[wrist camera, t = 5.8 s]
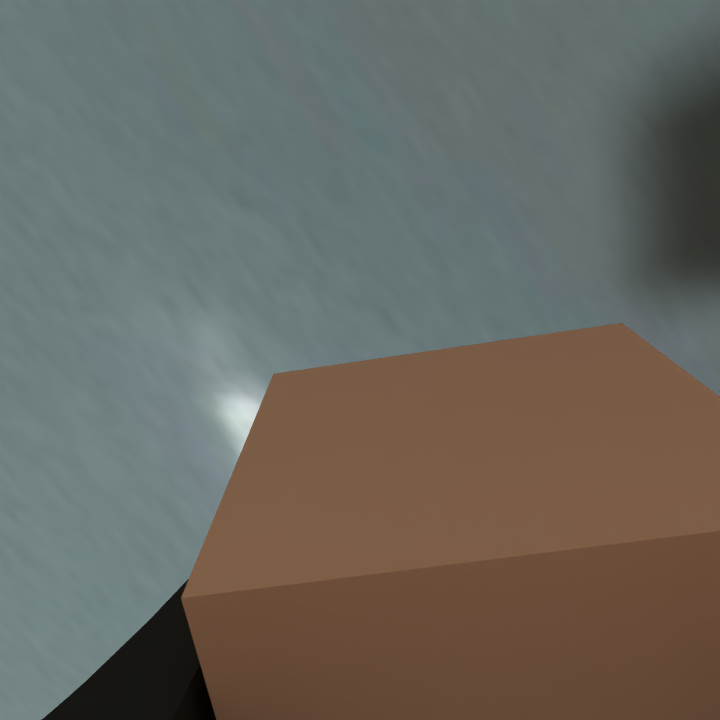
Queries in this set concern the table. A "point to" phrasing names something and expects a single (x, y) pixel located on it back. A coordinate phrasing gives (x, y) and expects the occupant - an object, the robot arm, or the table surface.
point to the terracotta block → (470, 540)
